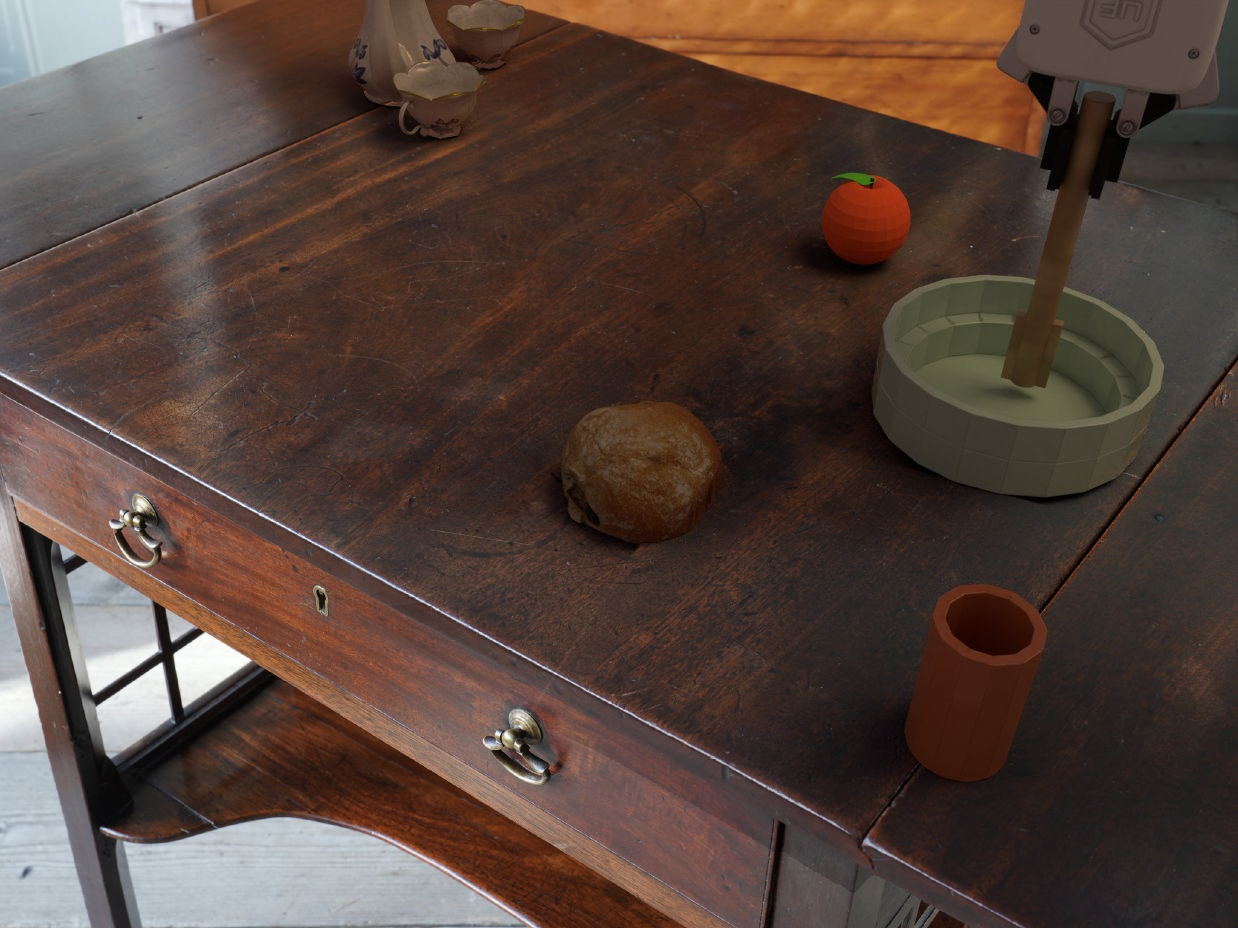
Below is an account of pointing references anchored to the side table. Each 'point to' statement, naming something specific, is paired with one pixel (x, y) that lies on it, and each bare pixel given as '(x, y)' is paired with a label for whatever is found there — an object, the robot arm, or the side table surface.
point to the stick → (1058, 251)
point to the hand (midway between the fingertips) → (1076, 183)
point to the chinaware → (430, 57)
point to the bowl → (1013, 389)
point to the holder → (973, 681)
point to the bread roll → (641, 471)
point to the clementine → (865, 219)
